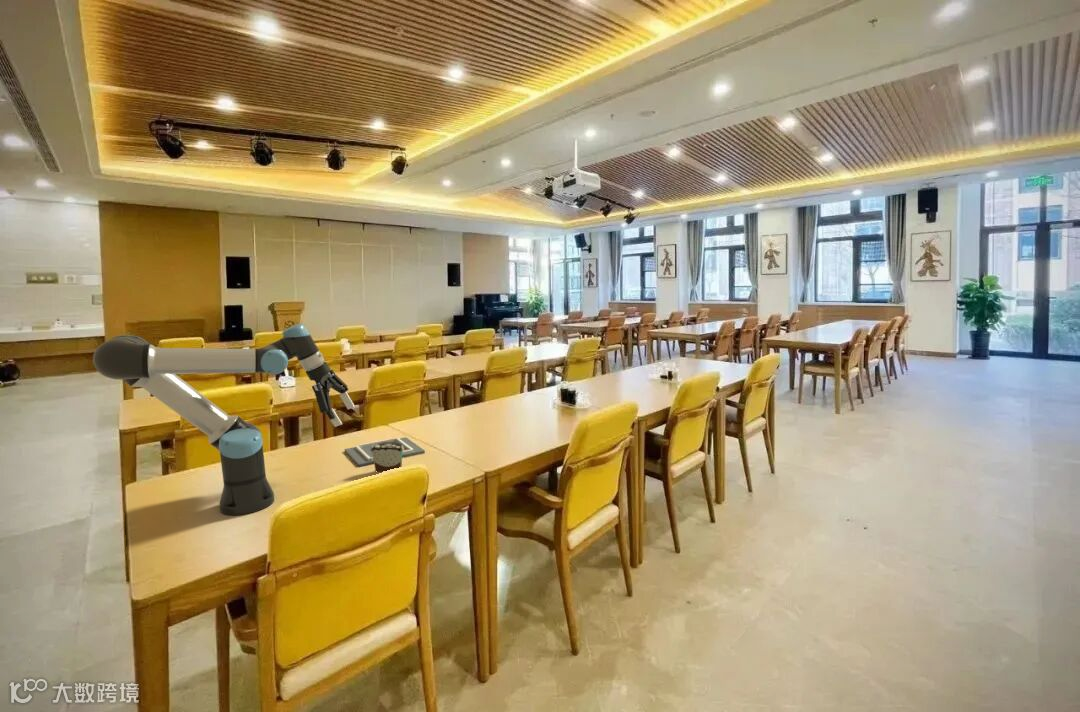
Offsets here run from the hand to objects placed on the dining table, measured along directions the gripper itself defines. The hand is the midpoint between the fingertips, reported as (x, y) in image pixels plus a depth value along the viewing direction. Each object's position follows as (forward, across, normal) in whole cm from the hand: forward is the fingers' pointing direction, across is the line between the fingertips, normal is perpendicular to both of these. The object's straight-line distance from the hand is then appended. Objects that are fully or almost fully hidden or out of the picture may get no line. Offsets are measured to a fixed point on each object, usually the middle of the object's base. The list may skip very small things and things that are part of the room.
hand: (345, 416), depth 190 cm
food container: (+25, -4, -7) cm, 26 cm away
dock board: (+25, +16, +2) cm, 30 cm away
